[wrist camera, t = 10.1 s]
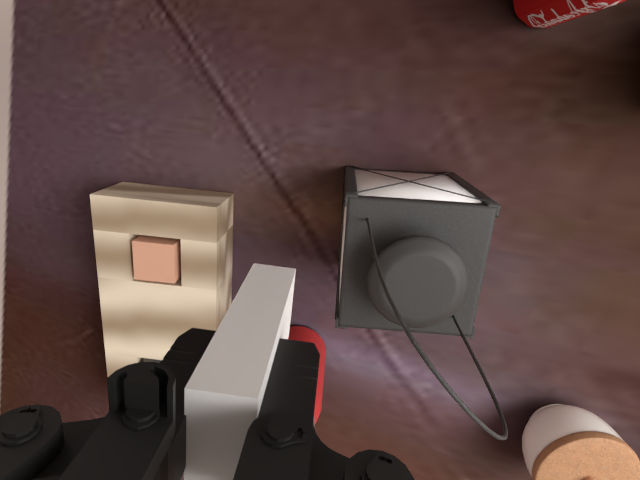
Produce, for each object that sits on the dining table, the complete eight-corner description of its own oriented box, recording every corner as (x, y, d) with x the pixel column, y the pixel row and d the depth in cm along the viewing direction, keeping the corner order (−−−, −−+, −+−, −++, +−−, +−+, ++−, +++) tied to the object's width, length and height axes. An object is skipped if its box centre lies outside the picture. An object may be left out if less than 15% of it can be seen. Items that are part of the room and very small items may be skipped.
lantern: (438, 272, 45) (572, 519, 19) (336, 265, 46) (327, 497, 19) (454, 171, 42) (650, 299, 15) (344, 164, 42) (344, 277, 15)
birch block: (122, 181, 44) (89, 194, 38) (233, 193, 43) (217, 207, 38) (136, 382, 52) (111, 416, 47) (229, 393, 52) (215, 429, 46)
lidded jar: (538, 469, 53) (576, 544, 44) (491, 417, 51) (521, 484, 42) (615, 429, 50) (673, 500, 42) (569, 372, 48) (620, 434, 39)
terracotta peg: (159, 222, 45) (131, 240, 39) (195, 226, 44) (173, 245, 39) (160, 256, 46) (134, 279, 40) (195, 260, 46) (174, 283, 40)
